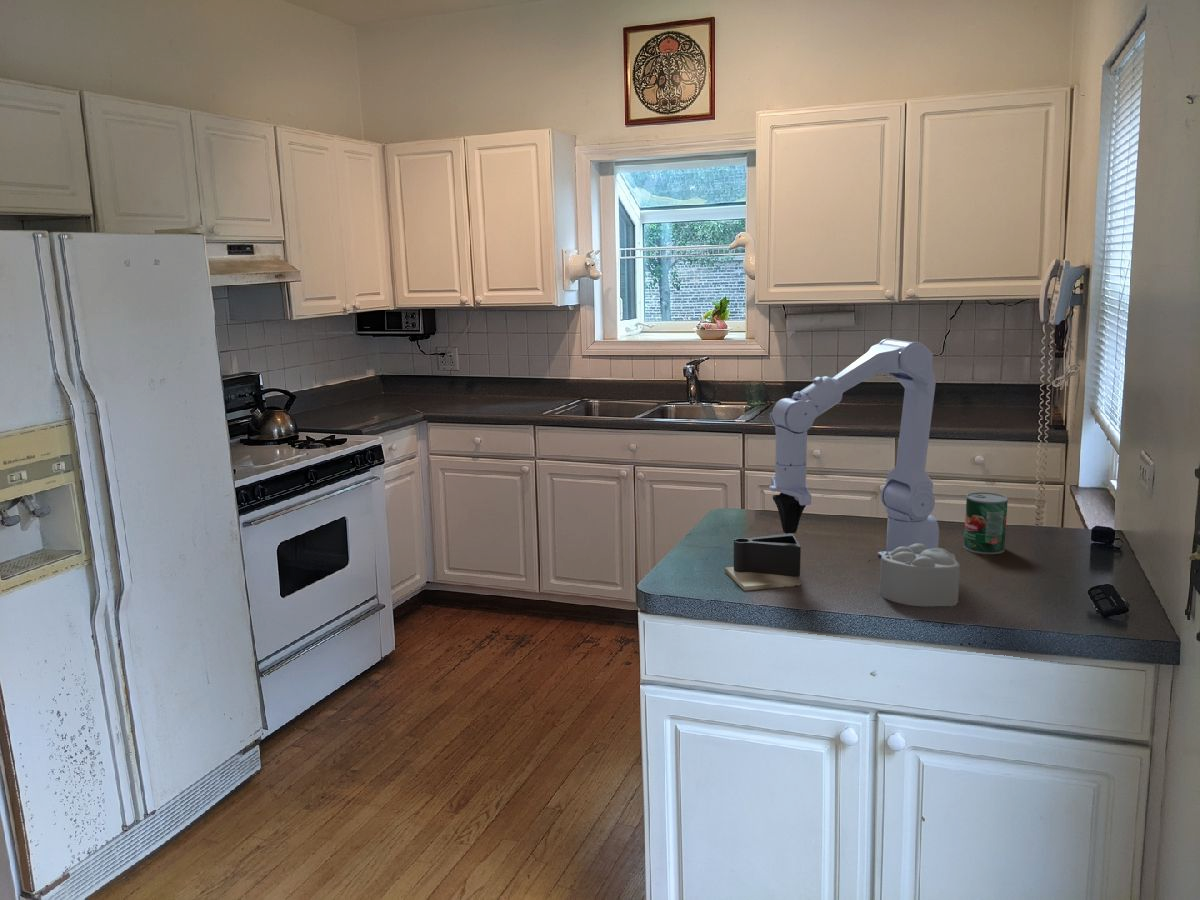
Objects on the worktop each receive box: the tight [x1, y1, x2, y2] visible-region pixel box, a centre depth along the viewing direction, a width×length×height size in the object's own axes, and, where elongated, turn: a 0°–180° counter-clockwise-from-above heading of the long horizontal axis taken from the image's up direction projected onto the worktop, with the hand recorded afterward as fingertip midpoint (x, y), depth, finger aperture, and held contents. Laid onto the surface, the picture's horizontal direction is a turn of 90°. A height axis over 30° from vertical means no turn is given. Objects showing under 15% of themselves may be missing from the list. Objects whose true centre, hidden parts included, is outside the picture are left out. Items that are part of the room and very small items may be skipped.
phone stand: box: [733, 533, 802, 578], centre depth 180 cm, size 9×6×12 cm
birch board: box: [724, 566, 801, 592], centre depth 179 cm, size 11×11×1 cm
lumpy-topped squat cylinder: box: [879, 543, 961, 608], centre depth 167 cm, size 10×13×9 cm
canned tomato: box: [963, 491, 1009, 555], centre depth 192 cm, size 8×8×11 cm
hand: (789, 532), depth 178 cm, fingers closed
